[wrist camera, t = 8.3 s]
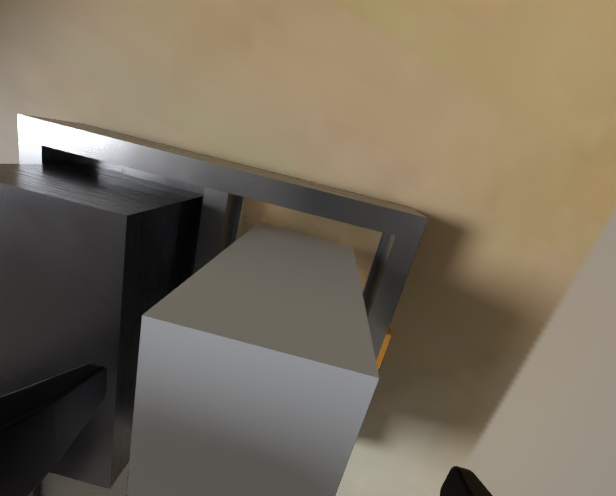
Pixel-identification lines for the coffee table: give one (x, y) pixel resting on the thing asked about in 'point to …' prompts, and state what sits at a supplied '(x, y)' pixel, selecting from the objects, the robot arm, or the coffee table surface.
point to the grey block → (254, 373)
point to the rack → (149, 256)
